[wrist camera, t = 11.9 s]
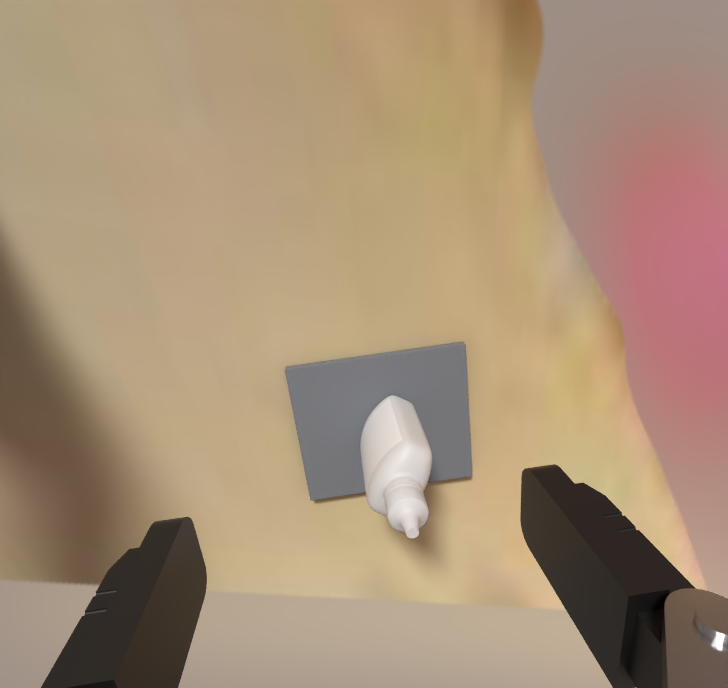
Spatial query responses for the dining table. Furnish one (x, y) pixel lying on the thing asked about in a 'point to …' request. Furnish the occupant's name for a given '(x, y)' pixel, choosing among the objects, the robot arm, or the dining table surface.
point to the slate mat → (360, 397)
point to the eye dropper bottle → (396, 464)
